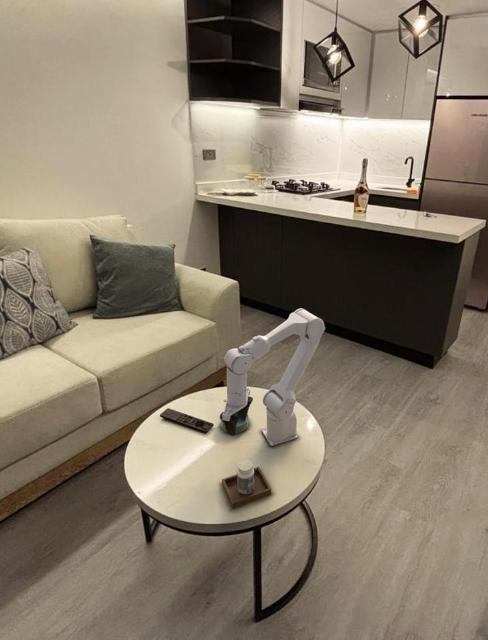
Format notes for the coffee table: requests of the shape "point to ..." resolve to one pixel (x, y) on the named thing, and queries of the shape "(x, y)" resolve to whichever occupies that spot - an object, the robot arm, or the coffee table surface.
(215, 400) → the coffee table surface
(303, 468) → the coffee table surface
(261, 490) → the tray
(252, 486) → the pill bottle
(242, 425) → the bowl
